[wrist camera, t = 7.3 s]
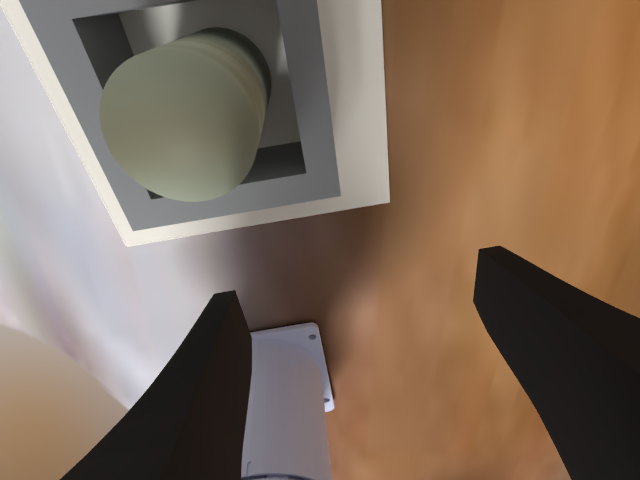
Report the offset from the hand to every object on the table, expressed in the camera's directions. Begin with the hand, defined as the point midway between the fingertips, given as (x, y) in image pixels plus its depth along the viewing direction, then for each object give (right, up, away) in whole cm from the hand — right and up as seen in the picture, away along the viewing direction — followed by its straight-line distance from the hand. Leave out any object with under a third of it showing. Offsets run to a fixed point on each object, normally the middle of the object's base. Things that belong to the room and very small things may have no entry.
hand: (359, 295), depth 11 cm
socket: (-5, +9, +5) cm, 11 cm away
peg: (-5, +8, +5) cm, 11 cm away
